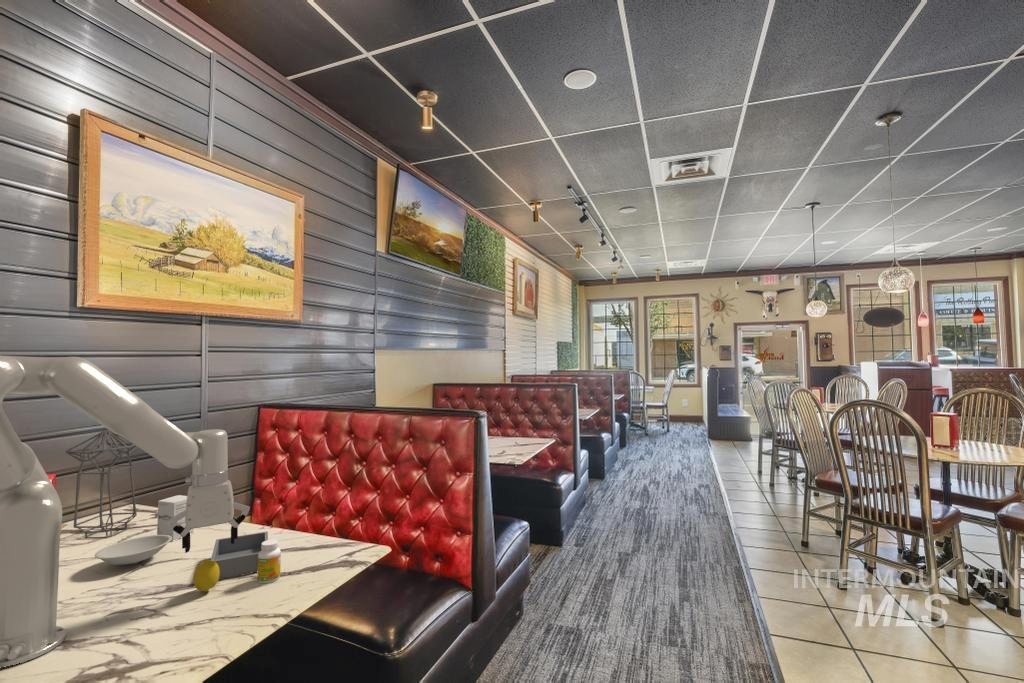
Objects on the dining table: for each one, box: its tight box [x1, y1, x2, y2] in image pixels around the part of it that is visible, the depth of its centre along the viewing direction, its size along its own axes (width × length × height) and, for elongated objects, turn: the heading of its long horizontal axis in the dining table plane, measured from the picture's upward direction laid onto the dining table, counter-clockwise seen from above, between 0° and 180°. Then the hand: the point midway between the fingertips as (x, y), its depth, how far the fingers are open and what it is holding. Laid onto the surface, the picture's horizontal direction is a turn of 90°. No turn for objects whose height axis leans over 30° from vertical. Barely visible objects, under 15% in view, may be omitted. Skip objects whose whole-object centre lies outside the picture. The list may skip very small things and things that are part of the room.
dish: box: [94, 534, 172, 566], centre depth 131 cm, size 18×14×5 cm
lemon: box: [192, 559, 220, 593], centre depth 115 cm, size 6×6×8 cm
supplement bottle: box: [257, 539, 282, 584], centre depth 122 cm, size 5×5×10 cm
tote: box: [210, 531, 269, 581], centre depth 131 cm, size 18×14×5 cm
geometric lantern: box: [65, 429, 139, 539], centre depth 155 cm, size 16×16×35 cm
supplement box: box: [156, 494, 195, 542], centre depth 152 cm, size 7×7×13 cm
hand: (210, 546), depth 116 cm, fingers open, 9 cm apart
